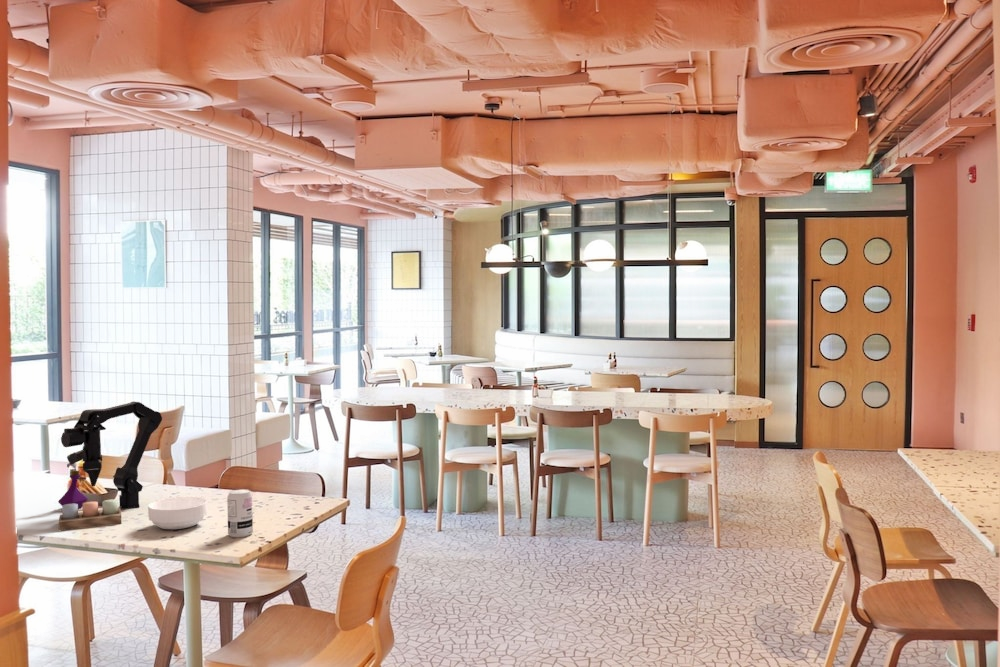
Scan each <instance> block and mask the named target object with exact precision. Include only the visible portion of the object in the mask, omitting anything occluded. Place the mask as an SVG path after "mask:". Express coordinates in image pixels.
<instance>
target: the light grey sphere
mask: <svg viewBox="0 0 1000 667" xmlns="http://www.w3.org/2000/svg"><path fill="white" fill-rule="evenodd" d="M61 508H62V510H61V511H62V518H63V520H65V519H74V518H78V513H79V508H78V504H76V503H72V504H65V505H63V506H61Z"/></svg>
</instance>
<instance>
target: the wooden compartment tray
mask: <svg viewBox="0 0 1000 667" xmlns="http://www.w3.org/2000/svg"><path fill="white" fill-rule="evenodd" d="M121 510H122V509H121V507H118V514H111V515H103V509H98V516H92V517H83V511H81V512H78V518H74V519H65V520H63V518H62V514H59V519H58V531H59V530H61V531H69V530H76V529H78V530H79V529H85V528H92V527H93V528H96V527H101V526H102V527H103V526H111V525H120V524H122V511H121Z"/></svg>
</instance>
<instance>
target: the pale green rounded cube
mask: <svg viewBox="0 0 1000 667" xmlns="http://www.w3.org/2000/svg"><path fill="white" fill-rule="evenodd" d="M101 504H102V510H103V515H111V514H118V508H119V507H118V499H115V498H114V499H105V500H103V501H102V503H101Z"/></svg>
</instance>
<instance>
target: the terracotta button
mask: <svg viewBox="0 0 1000 667" xmlns="http://www.w3.org/2000/svg"><path fill="white" fill-rule="evenodd" d="M98 510H99V502H98V501H97V500H96V501H86V502H85V503H83V506H82V512H83V517H92V516H98Z"/></svg>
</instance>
